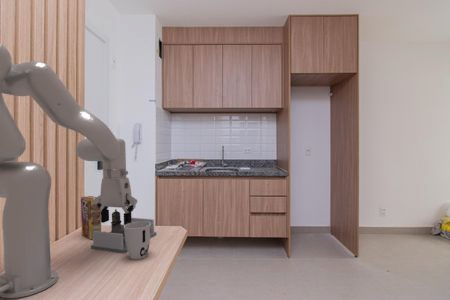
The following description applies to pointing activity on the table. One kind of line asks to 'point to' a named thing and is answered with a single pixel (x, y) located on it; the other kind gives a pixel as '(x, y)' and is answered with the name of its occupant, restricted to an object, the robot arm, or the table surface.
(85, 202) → the candy box
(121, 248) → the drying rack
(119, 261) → the table surface
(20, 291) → the robot arm
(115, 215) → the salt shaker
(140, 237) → the cup
